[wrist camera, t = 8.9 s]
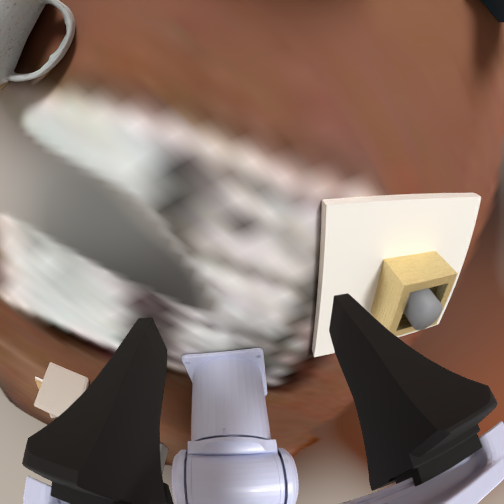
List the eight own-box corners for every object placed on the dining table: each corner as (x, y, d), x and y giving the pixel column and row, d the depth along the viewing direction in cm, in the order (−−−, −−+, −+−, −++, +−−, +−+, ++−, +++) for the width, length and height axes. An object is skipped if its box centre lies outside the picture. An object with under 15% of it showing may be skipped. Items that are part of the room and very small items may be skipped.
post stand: (434, 318, 27) (456, 351, 23) (311, 349, 27) (325, 393, 22) (474, 192, 19) (514, 219, 14) (321, 199, 18) (354, 238, 14)
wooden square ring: (419, 300, 23) (436, 324, 21) (370, 311, 23) (385, 339, 20) (435, 250, 20) (457, 273, 17) (383, 258, 20) (404, 285, 17)
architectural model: (89, 386, 29) (78, 431, 23) (46, 368, 27) (31, 411, 21) (89, 375, 28) (76, 423, 22) (43, 355, 26) (25, 401, 20)
